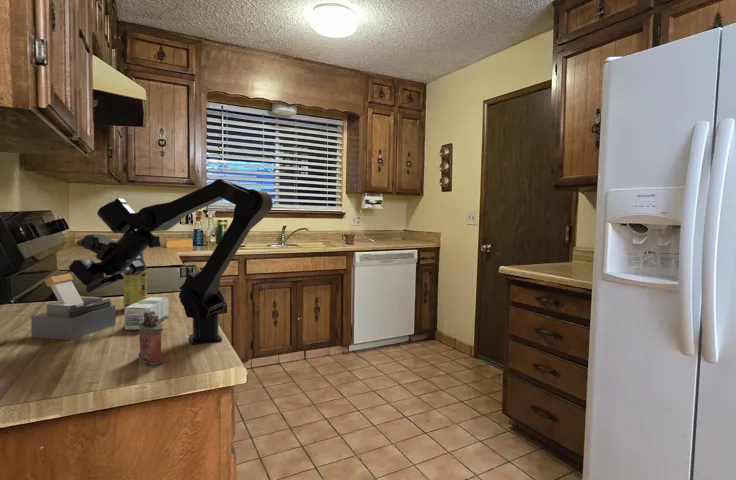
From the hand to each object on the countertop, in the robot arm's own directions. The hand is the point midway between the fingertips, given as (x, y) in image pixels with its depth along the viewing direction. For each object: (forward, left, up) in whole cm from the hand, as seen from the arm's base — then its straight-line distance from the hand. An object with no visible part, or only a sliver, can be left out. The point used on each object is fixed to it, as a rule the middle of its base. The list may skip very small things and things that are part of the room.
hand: (88, 291), depth 100 cm
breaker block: (+2, +3, -10) cm, 10 cm away
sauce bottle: (+22, -10, -10) cm, 26 cm away
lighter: (-28, -12, -10) cm, 32 cm away
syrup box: (+9, -16, -7) cm, 20 cm away
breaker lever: (+2, +3, -5) cm, 6 cm away
